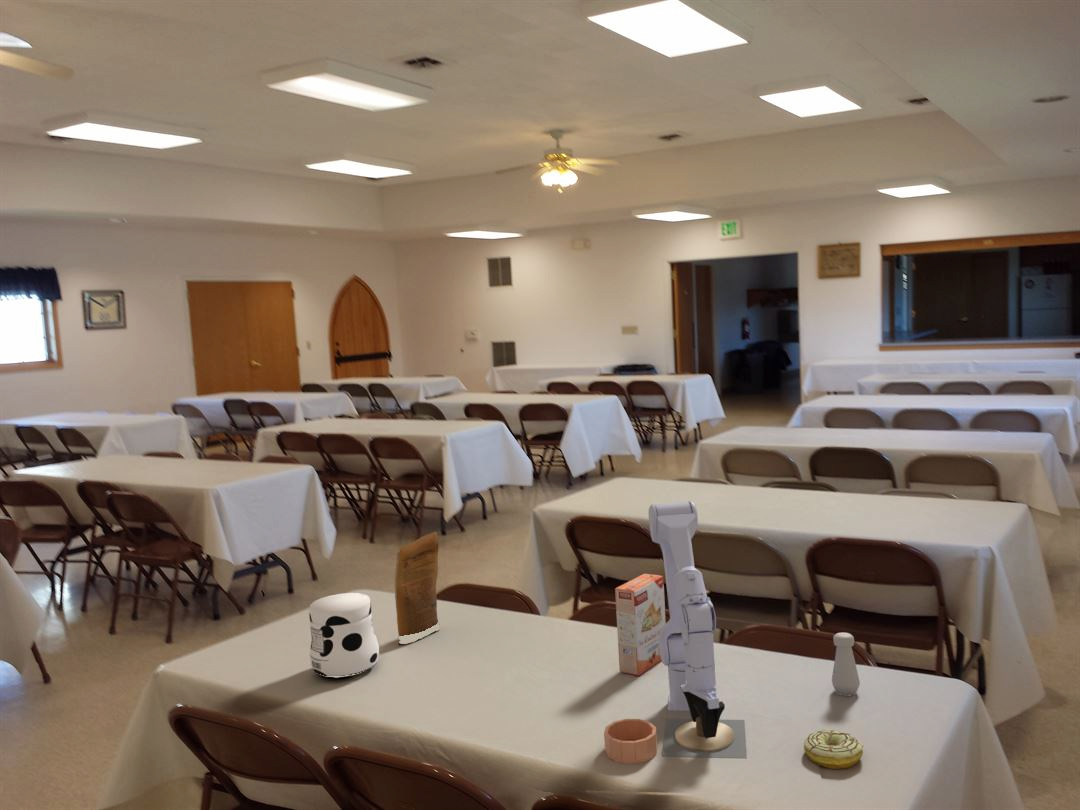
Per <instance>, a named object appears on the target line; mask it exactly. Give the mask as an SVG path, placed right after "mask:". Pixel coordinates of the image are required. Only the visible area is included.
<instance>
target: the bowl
mask: <svg viewBox="0 0 1080 810" xmlns="http://www.w3.org/2000/svg"><path fill="white" fill-rule="evenodd" d="M603 736H604V738H603V740H604V750H605V754H606V756H607V757H608V758H609V759H611V760H612V761H615V762H616V763H617V762H618V763H621V764H639V763H643V762H644V763H645V762H648V761H650V760H651V759H653V758H654V757H656V755H657V753H658V732H657V727H656V726H655V725H654V724H653V723H652V722H651V721H647V720H644V719H640V718H624V719H619V720H614V721H613V722H611V723H609V724H608V725H607V726H605V727H604V732H603Z"/></svg>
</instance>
